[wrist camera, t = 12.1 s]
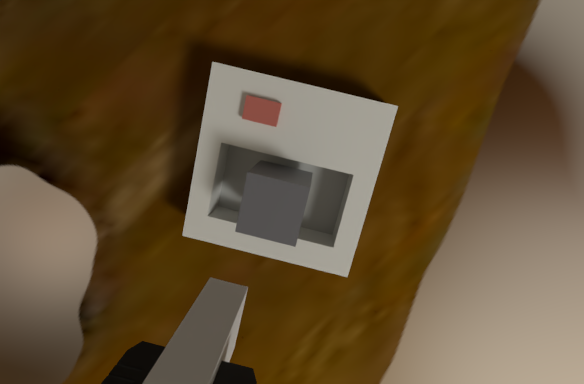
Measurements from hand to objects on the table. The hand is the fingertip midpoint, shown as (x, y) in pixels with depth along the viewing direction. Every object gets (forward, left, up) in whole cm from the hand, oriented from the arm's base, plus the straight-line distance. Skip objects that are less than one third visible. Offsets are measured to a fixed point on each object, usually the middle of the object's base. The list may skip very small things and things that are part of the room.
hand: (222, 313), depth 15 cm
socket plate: (-2, 0, -24) cm, 24 cm away
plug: (0, 0, -23) cm, 23 cm away
